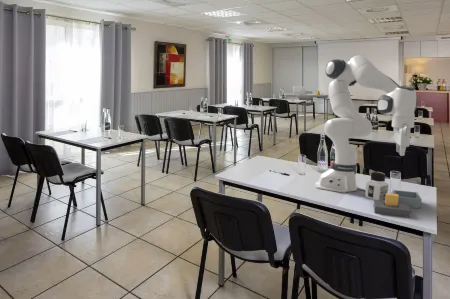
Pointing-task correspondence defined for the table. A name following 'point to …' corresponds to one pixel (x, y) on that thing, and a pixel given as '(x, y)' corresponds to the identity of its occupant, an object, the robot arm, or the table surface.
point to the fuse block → (391, 208)
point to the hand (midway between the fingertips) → (400, 153)
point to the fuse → (391, 199)
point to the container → (376, 186)
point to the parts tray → (409, 198)
